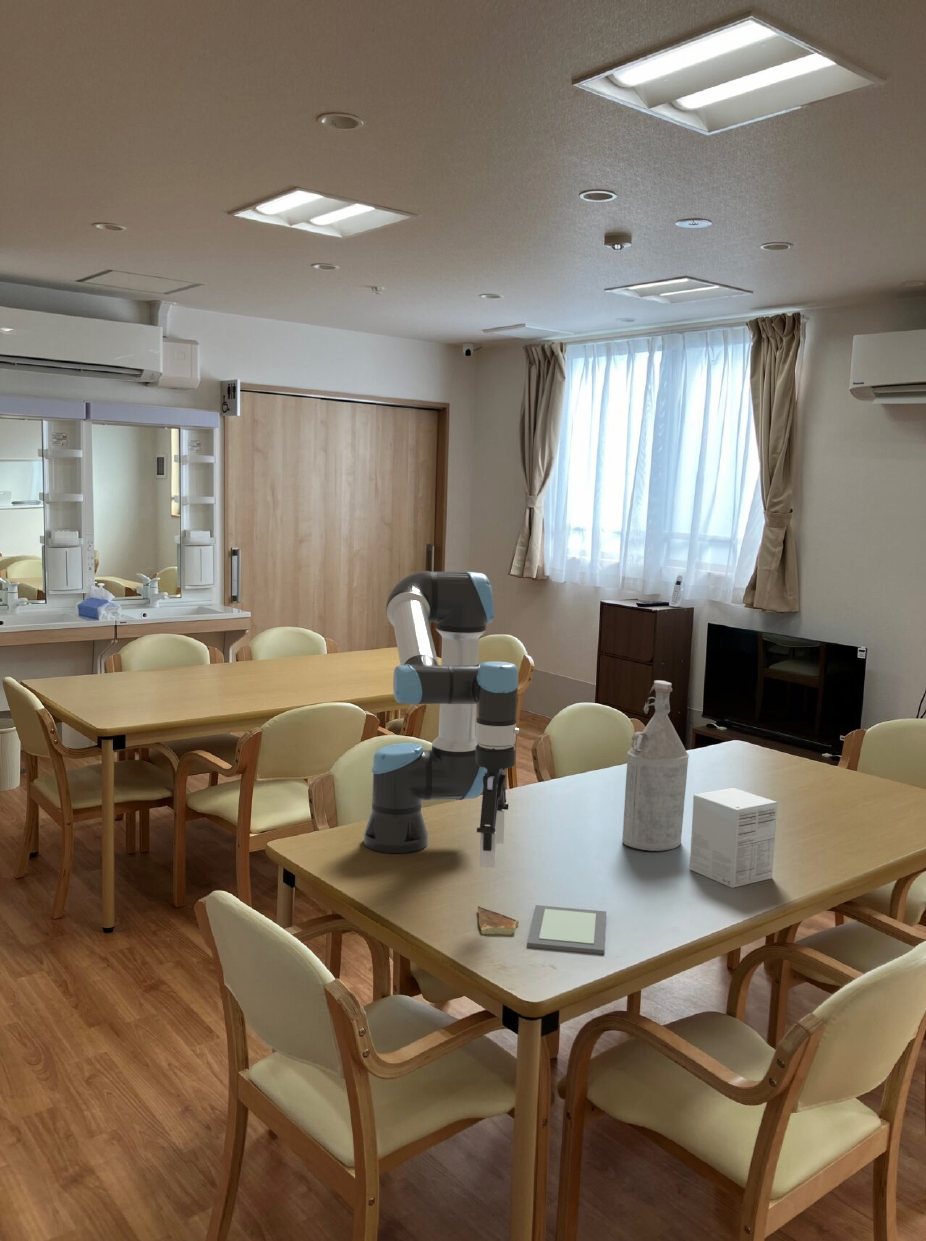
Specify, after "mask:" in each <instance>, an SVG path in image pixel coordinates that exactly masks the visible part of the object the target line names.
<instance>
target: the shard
mask: <svg viewBox="0 0 926 1241" xmlns="http://www.w3.org/2000/svg"><path fill="white" fill-rule="evenodd" d="M477 913H478V923H479V927H480V933H481V934H482V935H512V934H514V932H515V931H516V928H517V927H518V926H519V923H520V921H519V920H516V919H514V918H511V917H508V916H506V915H504V914H501V913H500V912H496V911H493V910H490V909H486V908H485V907H481V906H477Z"/></svg>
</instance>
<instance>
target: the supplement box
mask: <svg viewBox="0 0 926 1241" xmlns="http://www.w3.org/2000/svg"><path fill="white" fill-rule="evenodd" d="M692 798H693V801H692V818H691V819H692V822H691V838H690V854H689V855H690V857H689V870H690V871H693V872H695V873H697V874H699V875H702V876H704V877H706V878H708V879H710V880H713V881H715V882H718V883H720V884H722V885H724V886H727V887H729V888H731V889H734V888H738V887H743V886H746V885H751V884H755V883H757V882H761V881H766V880H770V879H773V872H774V862H775V861H774V858H775V845H776V844H775V843H776V842H775V841H776V828H777V827H776V826H777V816H778V814H777V813H778V801H775V800H773V799H769V798H767V797H766V798H765V797H763V796H759V795H757V794H754V793H751V792H748V791H745V790H742V789H739V788H735V787H730V788H724V789H718V790H711V791H707V792H700V793H694V794H693V797H692Z"/></svg>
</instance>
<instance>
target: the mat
mask: <svg viewBox="0 0 926 1241" xmlns="http://www.w3.org/2000/svg"><path fill="white" fill-rule="evenodd" d="M533 911H534V913H533V916H532V921H531V924H530V925H531V926H530V928H529V933H528V939H527V942H526V947H527V948H536V949H546V950H554V951H555V950H557V951H566V952H577V953H587V954H597V955H605V949H606V948H605V947H606V945H605V944H606V929H607V928H606V926H607V911H606V910H605V911H604V910H597V909H596V910H595V909H594V910H593V909H583V908H572V907H561V906H560V907H559V906H550V905H539V904H537V905H535V908H534V910H533Z"/></svg>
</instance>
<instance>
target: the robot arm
mask: <svg viewBox="0 0 926 1241" xmlns="http://www.w3.org/2000/svg"><path fill="white" fill-rule="evenodd" d="M494 603H495V602H494V596H493V589H492V585H491V582H490V580H489V578H488V576H487V575H486V574H485V573H482V572H474V571H429V570H422V571H417V572H414V573H411V574H409V575H407V576H405V577H404V578H402V579H401V580H400V581H398V583H396V584H395V585H394V587H393V588H392V589H391V591H390V593H389V595H388V596H387V600H386V604H385V605H386V606H385V608H386V616H387V619H388V621H389V623H390V625H391V626H392V627H393V629H394V630H393V631H394V634H395V642H396V646H397V652H398V659H399V664H400V665H397V666H395V668H394V671H393V680H392V681H393V683H392V686H393V687H392V689H393V699H394V700H395V702H397V703H398V704H406V705H413V706H416V705H439V716H438V736H437V737H436V738H435V739H434V740H432V743H431V749H430V750H429V749H428V750H425V749H424V747H423V745H422V744H421V743H417V742H398V743H393V744H389V745H386V746H383V747H381V748H379V749H378V750H377V751H376V752H374V754H373V759H372V760H373V761H372V768H371V772H372V793H371V794H372V796H371V797H372V799H371V813H370V815H369V817H368V821H367V824H366V827H365V830H364V832H363V844H364V846H365V847H366V848H368V849H370V850H372V851H376V852H379V853H380V852H381V853H388V854H403V853H404V854H406V853H412V852H416V851H420V850H422V849H424V848H426V847H427V846H428V843H429V835H428V834H429V833H428V830H427V826H426V822H425V819H424V816H423V812H422V801H433V800H434V801H440V800H441V801H442V800H445V801H446V800H448V801H450V800H458V801H464V800H468V799H469V800H472V799H473V800H474V799H476V798H478V797H480V795H481V794H482V799H481V800H482V801H481V810H480V819H479V820H480V823H479V824H480V825H479V827H477V828H476V833H480V847H479V867H484V868H495V867H496V846H497V844H500V845H504V842H505V841H504V840H505V839H504V837H505V815H506V814H505V812H506V811H507V810H509V803H507V794H506V789H507V788H506V785H507V784H506V781H507V780H506V779H507V773H506V770H507V769H510V768H513V767H514V766H515V765H516V747H515V746H514V745H515V744H516V737H517V735H518V734H519V733H520V729H519V728H517V727H516V726H517V715H518V714H517V712H518V711H517V710H518V688H519V685H520V684H519V683H520V682H519V674H518V673H519V672H518V671H519V669H518V667H517V665H516V664H514V663H512V662H508V661H507V662H506V661H498V660H497V661H495V660H494V661H493V660H492V661H483V662H479V641H480V637H481V636H482V635H484V634H485V632H486V631H487V630H486V628H487V624H491V623H492V622H493V621H494V618H495V617H494V616H495V604H494ZM430 623H435V631H436V632H438V634H439V635H440V636H441V660H440V661H441V662H440V663H441V664H440V665H439V661H438V656H437V653H436V648H435V644H434V640H433V636H432V631H431V627H430ZM516 734H517V735H516Z"/></svg>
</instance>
